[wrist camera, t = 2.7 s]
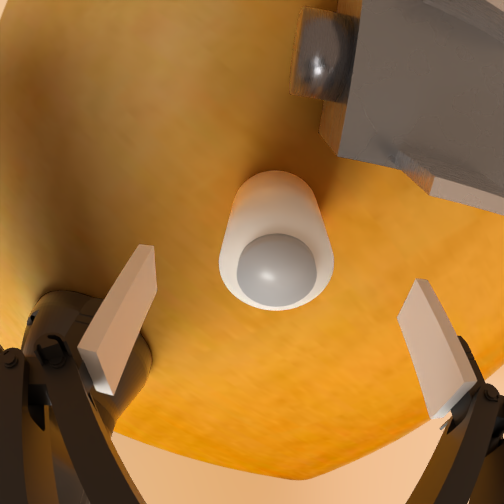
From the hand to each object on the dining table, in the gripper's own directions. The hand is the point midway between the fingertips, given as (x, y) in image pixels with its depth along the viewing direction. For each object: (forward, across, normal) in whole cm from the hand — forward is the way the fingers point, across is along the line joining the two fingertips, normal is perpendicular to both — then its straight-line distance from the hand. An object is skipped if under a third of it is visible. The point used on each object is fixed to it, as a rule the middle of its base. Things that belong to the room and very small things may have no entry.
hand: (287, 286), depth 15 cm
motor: (+9, +6, +11) cm, 15 cm away
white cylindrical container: (+9, -1, 0) cm, 9 cm away
